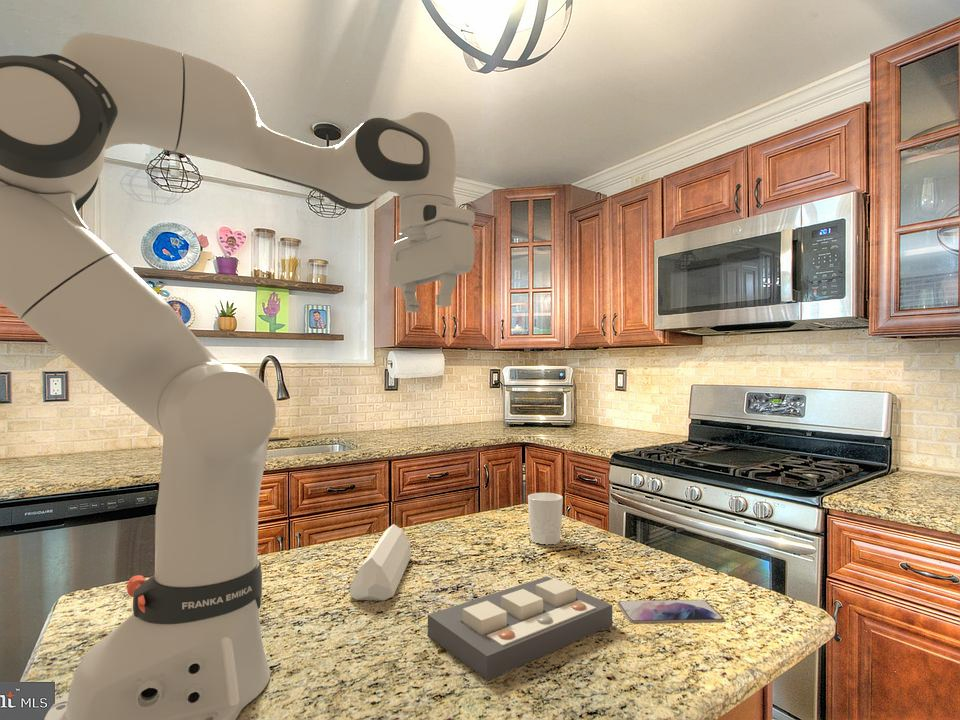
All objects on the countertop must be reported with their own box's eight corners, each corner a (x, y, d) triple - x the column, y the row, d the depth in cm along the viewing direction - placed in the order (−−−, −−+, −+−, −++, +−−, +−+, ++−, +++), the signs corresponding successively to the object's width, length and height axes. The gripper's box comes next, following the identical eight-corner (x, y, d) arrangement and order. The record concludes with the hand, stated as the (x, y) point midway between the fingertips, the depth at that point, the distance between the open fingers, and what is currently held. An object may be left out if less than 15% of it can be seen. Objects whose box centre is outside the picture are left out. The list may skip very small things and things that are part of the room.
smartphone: (726, 619, 81) (630, 621, 80) (726, 625, 81) (630, 626, 80) (705, 598, 88) (616, 600, 87) (704, 603, 88) (616, 605, 87)
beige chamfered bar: (401, 582, 86) (422, 536, 110) (364, 559, 87) (392, 519, 111) (379, 621, 86) (404, 567, 110) (341, 598, 87) (374, 549, 111)
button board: (487, 680, 65) (487, 652, 65) (427, 635, 76) (427, 611, 76) (612, 625, 80) (612, 602, 80) (547, 593, 91) (547, 573, 91)
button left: (481, 643, 71) (481, 620, 71) (462, 630, 74) (462, 608, 74) (506, 633, 73) (506, 611, 73) (487, 621, 77) (487, 600, 77)
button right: (555, 614, 79) (555, 594, 79) (535, 604, 83) (535, 584, 83) (575, 606, 82) (575, 587, 82) (555, 596, 85) (555, 578, 85)
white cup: (553, 548, 114) (553, 502, 114) (521, 542, 118) (521, 497, 119) (568, 539, 121) (568, 495, 121) (537, 533, 125) (537, 491, 125)
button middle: (520, 627, 75) (520, 606, 75) (501, 616, 78) (501, 596, 79) (543, 619, 78) (543, 598, 78) (523, 608, 81) (523, 588, 81)
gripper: (379, 232, 90) (379, 313, 89) (446, 202, 73) (445, 301, 73) (412, 238, 94) (411, 316, 93) (482, 210, 77) (481, 304, 77)
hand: (427, 309), depth 83 cm, fingers open, 8 cm apart
